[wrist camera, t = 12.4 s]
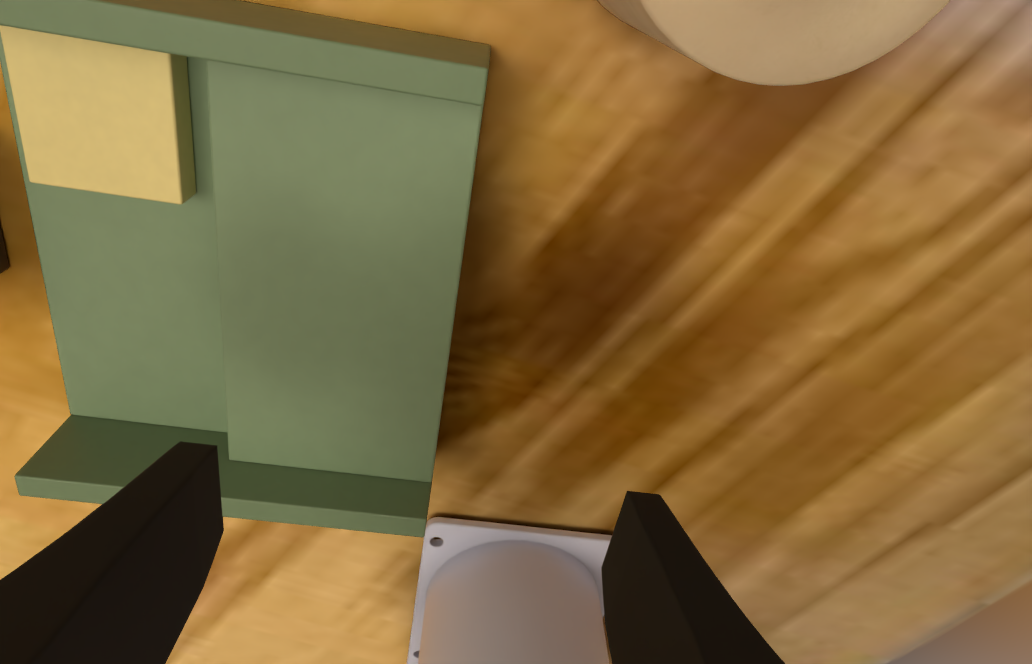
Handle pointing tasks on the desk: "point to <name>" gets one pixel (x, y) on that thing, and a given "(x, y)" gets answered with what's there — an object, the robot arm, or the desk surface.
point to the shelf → (267, 265)
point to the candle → (778, 33)
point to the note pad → (102, 115)
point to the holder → (3, 255)
